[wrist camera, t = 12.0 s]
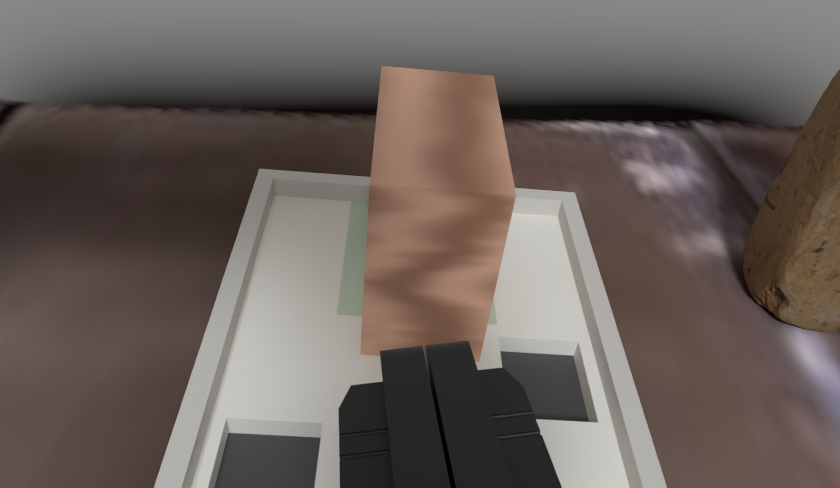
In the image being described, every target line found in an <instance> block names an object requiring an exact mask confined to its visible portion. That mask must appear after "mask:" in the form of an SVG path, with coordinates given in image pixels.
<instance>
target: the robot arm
mask: <svg viewBox="0 0 840 488" xmlns="http://www.w3.org/2000/svg"><path fill="white" fill-rule="evenodd" d="M380 360H381V370H382V380H383V382H375V383H366V384H358V385H351V386H350V388H349V390H348V392H347V394H346V396H345V397H344V399H343V401H342V403H341V405H340V407H339V457H340V461H339V467H340V488H562V486H561V484H560V481H559V479H558V476H557V473H556V471H555V468H554V465H553V463H552V460H551V458H550V455H549V452H548V450H547V447H546V444H545V442H544V439H543V437H542V435H541V434H540V429H539V426H538V423H537V421H536V418H535V416H534V415H533V410H532V408H531V405H530V402H529V400H528V397H527V395H526V392H525V389H524V387H523V386H522V385H521V384H520V383H519V382H518V381H517V380H516V379H515V378H514V377H513V376H512V375H511V374H510V373H509V372H508V371H507V370H506V369H504V368H503V367H502V368H493V369H485V370H478V369H477V366H476V363H475V359H474V356H473V353H472V349H471V346H470V343H469V341H460V342H451V343H442V344H433V345H426V346H425V356H424V351H423V347H422V346H417V347H408V348H399V349H391V350H382V351H380ZM425 360H426V361H425Z"/></svg>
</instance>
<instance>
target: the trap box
mask: <svg viewBox="0 0 840 488" xmlns="http://www.w3.org/2000/svg"><path fill="white" fill-rule="evenodd" d="M369 188H370V177H362V176H349V175H336V174H323V173H310V172H296V171H283V170H270V169H259V171H258V174H257V177H256V180H255V183H254V186H253V189H252V192H251V195H250V198H249V201H248V204H247V207H246V211H245V214H244V217H243V220H242V223H241V226H240V229H239V232H238V235H237V238H236V241H235V244H234V247H233V250H232V253H231V256H230V259H229V262H228V265H227V268H226V271H225V274H224V277H223V280H222V283H221V286H220V289H219V292H218V295H217V298H216V301H215V304H214V307H213V310H212V313H211V316H210V319H209V322H208V325H207V329H206V332H205V335H204V338H203V341H202V344H201V347H200V350H199V353H198V356H197V359H196V362H195V365H194V368H193V371H192V374H191V377H190V380H189V383H188V386H187V389H186V392H185V395H184V398H183V401H182V404H181V407H180V410H179V413H178V416H177V419H176V422H175V425H174V428H173V431H172V434H171V437H170V440H169V444H168V447H167V450H166V453H165V456H164V459H163V462H162V465H161V468H160V471H159V474H158V477H157V480H156V483H155V486H154V488H340V467H339V461H340V457H339V407H340V405H341V403H342V401H343V399H344V397H345V396H346V394H347V392H348V390H349V388H350V386H351V385H358V384H366V383H375V382H383V380H382V370H381V360H380V356H376V355H360V350H361V332H362V314H363V296H364V278H365V260H366V242H367V224H368V206H369ZM515 192H516V199H515V203H514V208H513V212H512V217H511V221H510V226H509V230H508V235H507V239H506V244H505V248H504V253H503V257H502V262H501V266H500V271H499V275H498V280H497V284H496V289H495V293H494V298H493V302H492V307H491V311H490V316H489V320H488V325H487V329H486V334H485V338H484V343H483V347H482V352H481V356H480V361H479V362H475V363H476V366H477V369H478V370H485V369H493V368H502V367H503V368H504V369H506V370H507V371H508V372H509V373H510V374H511V375H512V376H513V377H514V378H515V379H516V380H517V381H518V382H519V383H520V384H521V385H522V386H523V387H524V389H525V392H526V395H527V397H528V400H529V402H530V405H531V408H532V410H533V415H534V416H535V418H536V421H537V423H538V426H539V429H540V434H541V435H542V437H543V439H544V442H545V444H546V447H547V450H548V452H549V455H550V458H551V460H552V463H553V465H554V468H555V471H556V473H557V476H558V479H559V481H560V484H561V486H562V488H667V486H666V483H665V480H664V477H663V474H662V470H661V467H660V464H659V461H658V458H657V454H656V451H655V448H654V445H653V442H652V438H651V435H650V432H649V429H648V426H647V422H646V419H645V416H644V413H643V410H642V406H641V403H640V400H639V397H638V394H637V390H636V387H635V384H634V381H633V378H632V374H631V371H630V368H629V365H628V362H627V358H626V355H625V352H624V349H623V346H622V342H621V339H620V336H619V333H618V330H617V326H616V323H615V320H614V317H613V314H612V310H611V307H610V304H609V301H608V298H607V294H606V291H605V288H604V285H603V282H602V278H601V275H600V272H599V269H598V266H597V262H596V259H595V256H594V253H593V250H592V246H591V243H590V240H589V237H588V234H587V230H586V227H585V224H584V221H583V218H582V214H581V211H580V208H579V205H578V202H577V198H576V195H575V193H574V192H560V191H547V190H534V189H521V188H515ZM425 361H426V360H425Z"/></svg>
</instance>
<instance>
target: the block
mask: <svg viewBox="0 0 840 488" xmlns="http://www.w3.org/2000/svg"><path fill="white" fill-rule="evenodd" d="M742 265H743V273H744V278H745V281H746V284H747V286H748V289H749V291H750V293H751V295H752V296H753V298H754V299H755V300H756V302H757V303H758V304H759V305H761V306H763V307H765V308H767V309H768V311H770V312H771V313H773V314H774V315H775V317H777V318H779V319H780V320H782V321H784V322H786V323H789V324H793V325H795V326H798V327H801V328H805V329H811V330H816V331H821V332H835V331H840V70H839V71H838V72H837V74H836V75H835V76H834V77H833V78H832V80H831V82H830V84H829V86H828V87H827V89H826V90H825V91H824V93H823V95H822V96H821V98H820V100H819V102H818V103H817V105H816V106H815V108H814V110H813V111H812V113H811V115H810V117H809V119H808V120H807V122H806V123H805V125H804V127H803V128H802V130H801V132H800V134H799V136H798V138H797V140H796V142H795V144H794V146H793V148H792V150H791V152H790V154H789V156H788V158H787V160H786V167H785V168H784V170H783V171H782V172H781V173H780V174H779V175H778V176H777V177H776V179H775V180H774V182H773V184H772V186H771V187H770V189H769V191H768V193H767V195H766V197H765V199H764V201H763V203H762V206H761V208H760V210H759V212H758V214H757V216H756V218H755V220H754V222H753V224H752V227H751V229H750V232H749V235H748V238H747V241H746V244H745V246H744V249H743V253H742Z"/></svg>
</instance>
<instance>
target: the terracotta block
mask: <svg viewBox="0 0 840 488" xmlns="http://www.w3.org/2000/svg"><path fill="white" fill-rule="evenodd" d="M515 199H516V192H515V187H514V181H513V176H512V171H511V165H510V160H509V155H508V150H507V144H506V139H505V134H504V129H503V123H502V118H501V113H500V108H499V102H498V97H497V92H496V86H495V81H494V76H490V75H478V74H467V73H455V72H444V71H432V70H421V69H409V68H398V67H386V66H382V69H381V79H380V89H379V98H378V108H377V118H376V127H375V137H374V147H373V157H372V167H371V176H370V188H369V206H368V224H367V242H366V260H365V278H364V296H363V314H362V332H361V350H360V355H376V356H380V351H382V350H391V349H399V348H408V347H417V346H422V347H423V351H424V356H425V346H426V345H433V344H442V343H451V342H460V341H469V343H470V346H471V349H472V353H473V356H474V359H475V362H479V361H480V356H481V352H482V347H483V343H484V338H485V334H486V329H487V325H488V320H489V316H490V311H491V307H492V302H493V298H494V293H495V289H496V284H497V280H498V275H499V271H500V266H501V262H502V257H503V253H504V248H505V244H506V239H507V235H508V230H509V226H510V221H511V217H512V212H513V208H514V203H515Z"/></svg>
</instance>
